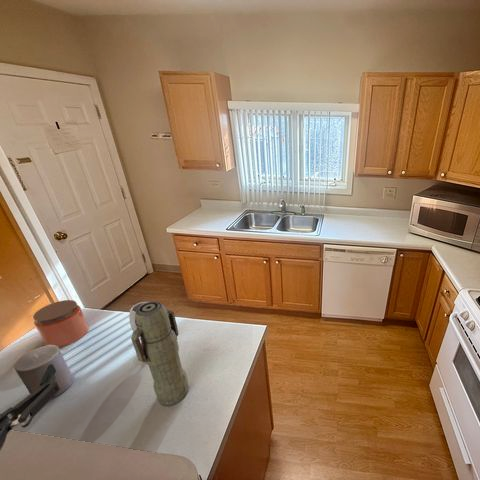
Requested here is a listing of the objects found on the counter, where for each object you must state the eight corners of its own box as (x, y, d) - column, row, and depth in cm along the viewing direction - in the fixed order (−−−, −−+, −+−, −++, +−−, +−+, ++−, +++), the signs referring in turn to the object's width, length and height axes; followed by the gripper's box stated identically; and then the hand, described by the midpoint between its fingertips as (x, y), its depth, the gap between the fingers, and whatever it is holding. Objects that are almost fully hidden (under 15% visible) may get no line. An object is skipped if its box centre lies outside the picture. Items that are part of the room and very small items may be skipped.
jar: (36, 350, 95) (20, 323, 90) (59, 326, 107) (47, 301, 102) (77, 345, 98) (64, 319, 93) (95, 322, 110) (85, 297, 105)
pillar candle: (25, 405, 77) (1, 371, 71) (44, 378, 85) (25, 345, 79) (65, 396, 80) (46, 363, 74) (80, 370, 88) (64, 338, 82)
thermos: (147, 407, 78) (114, 318, 64) (175, 374, 89) (152, 292, 74) (171, 415, 76) (143, 325, 62) (197, 380, 87) (178, 297, 73)
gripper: (-121, 509, 47) (-44, 407, 64) (57, 440, 59) (83, 369, 76) (-149, 489, 44) (-61, 387, 61) (44, 420, 56) (74, 350, 72)
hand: (18, 377), depth 68 cm, fingers open, 13 cm apart
